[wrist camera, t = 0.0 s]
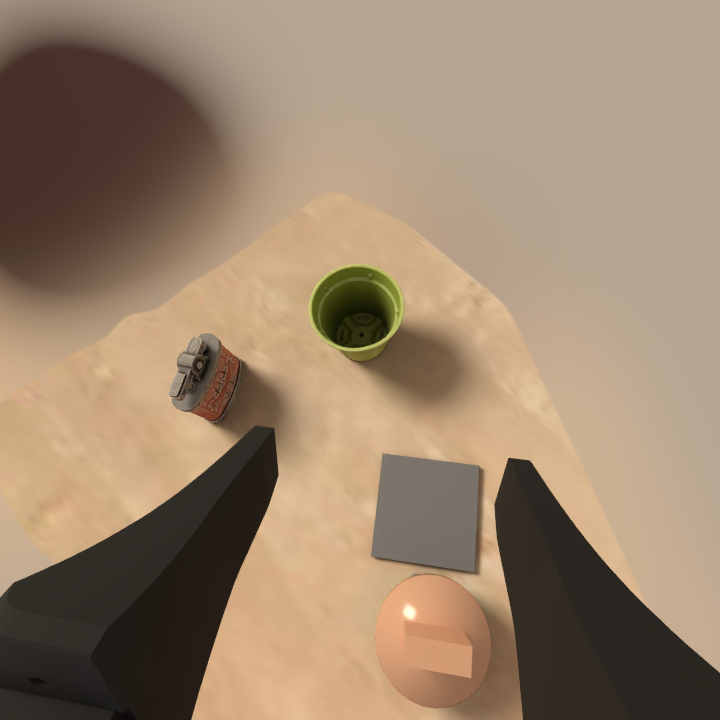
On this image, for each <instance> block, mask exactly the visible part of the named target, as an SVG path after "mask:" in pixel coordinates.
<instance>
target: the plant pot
mask: <svg viewBox="0 0 720 720" xmlns="http://www.w3.org/2000/svg"><path fill="white" fill-rule="evenodd" d="M404 309H405V304H404V297H403V294H402V291H401V289H400V287H399V285H398V284H397V282H396V281H395V280H394V279H393V278H392V277H391V276H390V275H389V274H388V273H386V272H385V271H383V270H382V269H380V268H377V267H374V266H371V265H366V264H351V265H346V266H343V267H340V268H337V269H335V270H333V271H331V272H330V273H328V274H327V275H326V276H324V277H323V278H322V279H321V280H320V281H319V283H318V284H317V285H316V287H315V289H314V290H313V292H312V295H311V297H310V302H309V318H310V322H311V325H312V327H313V329H314V330H315V332H316V334H317V335H318V336H319V337H320V338H321V339H322V340H323V341H324V342H325V343H327V344H328V345H330V346H331V347H333V348H336V349H338V350H339V351H340V352H341V353H342V354H343V355H345V356H346V357H348V358H349V359H352V360H355V361H367V360H371V359H373V358H375V357H376V356H378V355H379V354H380V353H381V352H382V351H383V350H384V348H385V346H386V344H387V341H388V340H389V339H390V338H391V337H392V336H393V335H394V334H395V333H396V331H397V330H398V328H399V327H400V325H401V322H402V320H403V316H404ZM362 316H365V317H368V318H369V319H368V320H366V319H357V318H358V317H362ZM342 330H344V334H343V341H341V340H340V338H341V335H340V333H341V331H342ZM381 331H382V332H383V339H382V340H381V341H380V338H381ZM361 333H363V334H364V336H363V337H360V334H361Z"/></svg>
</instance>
